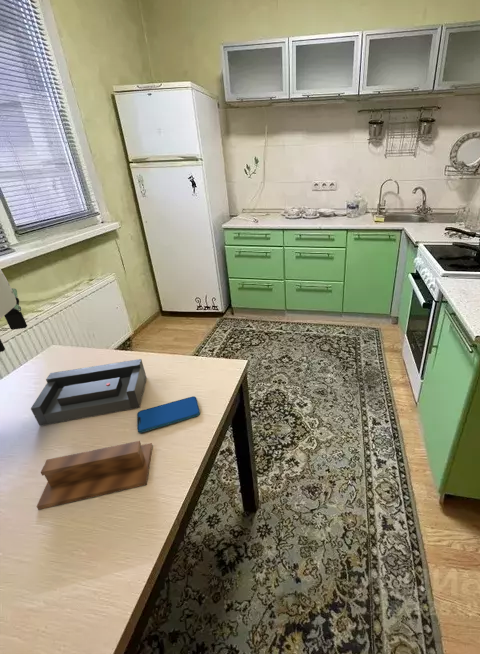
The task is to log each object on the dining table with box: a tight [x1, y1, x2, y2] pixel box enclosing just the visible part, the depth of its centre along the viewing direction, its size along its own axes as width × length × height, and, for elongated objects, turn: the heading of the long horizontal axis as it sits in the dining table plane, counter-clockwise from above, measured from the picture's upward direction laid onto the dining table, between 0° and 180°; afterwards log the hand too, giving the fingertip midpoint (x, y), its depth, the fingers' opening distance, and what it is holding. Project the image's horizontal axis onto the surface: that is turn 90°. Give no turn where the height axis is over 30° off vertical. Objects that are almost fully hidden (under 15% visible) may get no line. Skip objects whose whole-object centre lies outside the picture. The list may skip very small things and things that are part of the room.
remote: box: [57, 377, 122, 406], centre depth 86 cm, size 14×5×3 cm, turn 104°
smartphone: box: [136, 395, 201, 434], centre depth 84 cm, size 7×1×15 cm
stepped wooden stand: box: [36, 440, 153, 511], centre depth 68 cm, size 20×10×6 cm, turn 104°
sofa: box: [30, 358, 147, 427], centre depth 89 cm, size 24×13×7 cm, turn 104°
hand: (8, 339), depth 70 cm, fingers open, 9 cm apart
